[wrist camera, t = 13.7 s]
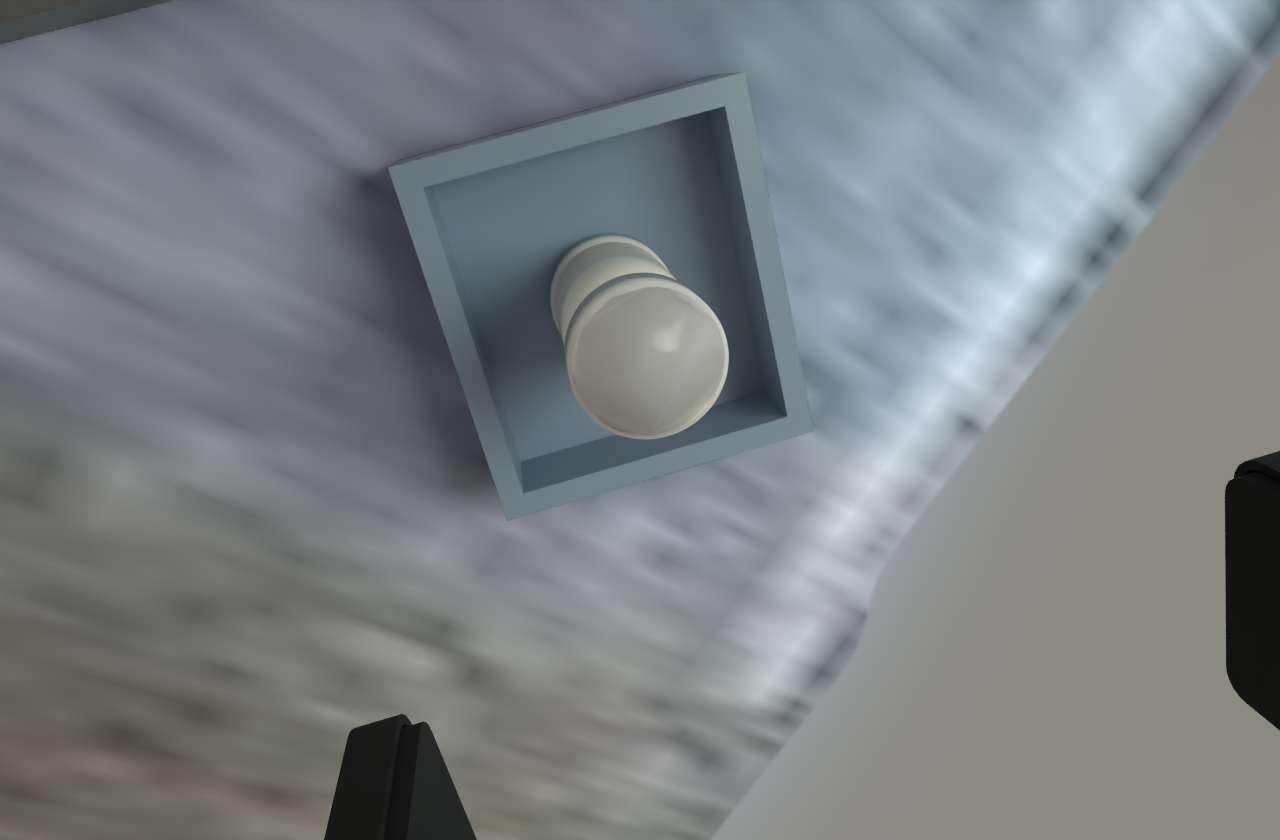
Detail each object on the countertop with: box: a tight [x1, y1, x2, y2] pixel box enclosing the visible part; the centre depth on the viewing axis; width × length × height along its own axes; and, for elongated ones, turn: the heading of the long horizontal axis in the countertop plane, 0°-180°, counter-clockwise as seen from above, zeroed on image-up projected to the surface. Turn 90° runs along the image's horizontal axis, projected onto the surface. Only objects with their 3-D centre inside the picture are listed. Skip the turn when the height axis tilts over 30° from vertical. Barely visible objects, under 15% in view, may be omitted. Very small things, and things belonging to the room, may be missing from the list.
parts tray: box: [388, 72, 814, 521], centre depth 31 cm, size 11×12×4 cm
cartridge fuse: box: [549, 233, 729, 440], centre depth 28 cm, size 4×4×9 cm
